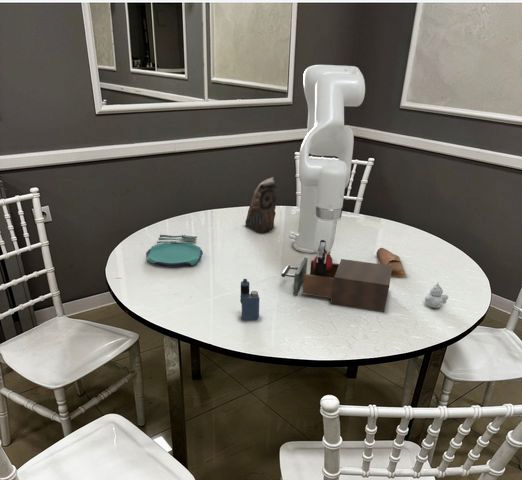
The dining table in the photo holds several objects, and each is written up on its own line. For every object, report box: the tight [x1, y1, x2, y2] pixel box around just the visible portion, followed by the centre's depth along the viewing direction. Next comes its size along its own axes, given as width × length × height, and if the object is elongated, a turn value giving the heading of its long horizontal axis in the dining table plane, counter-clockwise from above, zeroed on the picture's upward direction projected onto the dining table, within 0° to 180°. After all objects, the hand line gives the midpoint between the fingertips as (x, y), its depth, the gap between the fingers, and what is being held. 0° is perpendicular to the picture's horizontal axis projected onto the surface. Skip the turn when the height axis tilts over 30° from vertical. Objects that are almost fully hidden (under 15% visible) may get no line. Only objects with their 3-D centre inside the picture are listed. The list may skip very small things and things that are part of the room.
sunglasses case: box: [376, 247, 406, 278], centre depth 166 cm, size 18×7×7 cm
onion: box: [313, 251, 333, 272], centre depth 143 cm, size 6×6×8 cm
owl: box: [244, 176, 278, 235], centre depth 191 cm, size 13×13×20 cm
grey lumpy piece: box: [424, 282, 449, 309], centre depth 140 cm, size 5×7×8 cm
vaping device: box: [239, 278, 260, 322], centre depth 129 cm, size 3×5×12 cm, turn 95°
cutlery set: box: [145, 234, 204, 267], centre depth 171 cm, size 20×30×2 cm, turn 2°
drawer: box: [280, 256, 340, 299], centre depth 146 cm, size 20×14×7 cm
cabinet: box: [330, 258, 392, 313], centre depth 143 cm, size 16×15×9 cm
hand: (322, 270), depth 144 cm, fingers closed on onion, 5 cm apart
